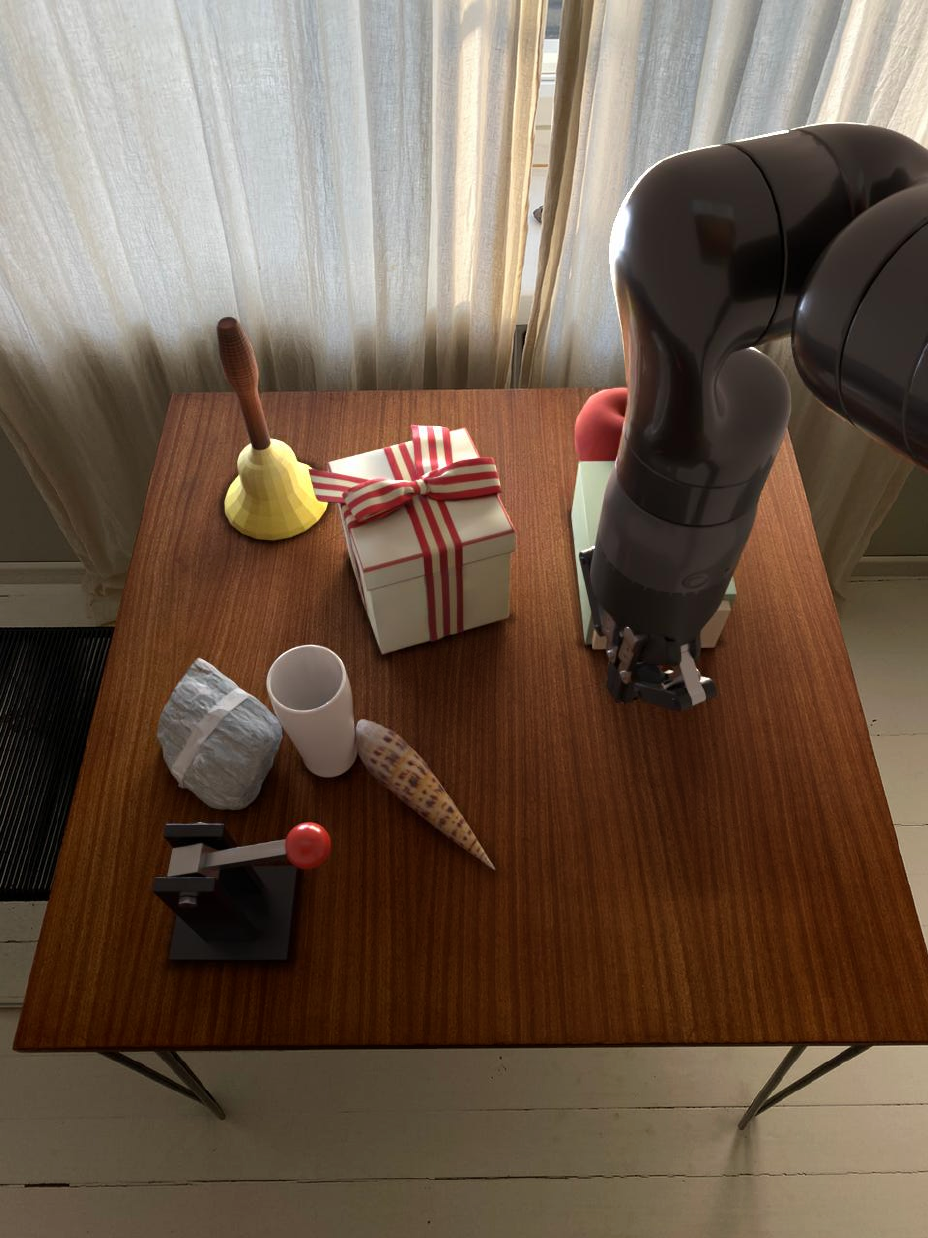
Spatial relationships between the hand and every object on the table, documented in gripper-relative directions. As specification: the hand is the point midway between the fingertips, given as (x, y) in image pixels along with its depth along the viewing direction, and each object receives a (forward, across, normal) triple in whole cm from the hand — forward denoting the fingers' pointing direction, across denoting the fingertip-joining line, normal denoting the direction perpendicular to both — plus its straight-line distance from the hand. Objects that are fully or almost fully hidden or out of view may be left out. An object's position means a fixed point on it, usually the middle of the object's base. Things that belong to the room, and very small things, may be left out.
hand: (623, 690), depth 60 cm
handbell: (+25, +50, +15) cm, 58 cm away
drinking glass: (+25, +16, +19) cm, 36 cm away
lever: (+10, +3, +27) cm, 29 cm away
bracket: (+25, +5, +32) cm, 41 cm away
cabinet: (+25, +23, -19) cm, 39 cm away
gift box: (+25, +32, +4) cm, 41 cm away
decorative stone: (+25, +21, +28) cm, 43 cm away
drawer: (+24, +19, -17) cm, 35 cm away
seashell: (+25, +8, +13) cm, 29 cm away
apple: (+25, +37, -24) cm, 51 cm away
